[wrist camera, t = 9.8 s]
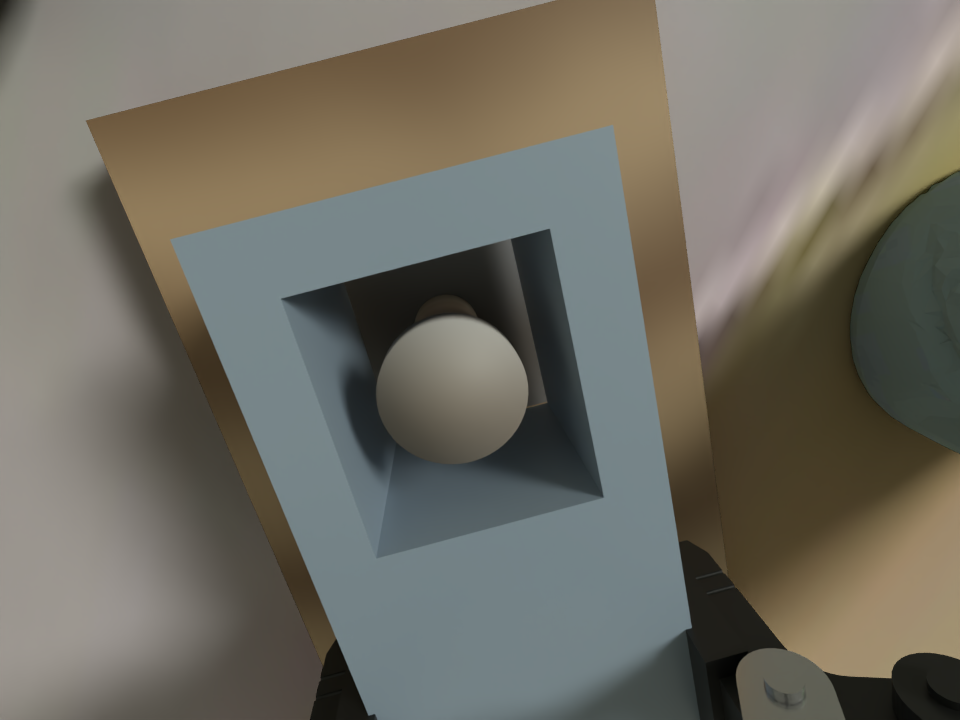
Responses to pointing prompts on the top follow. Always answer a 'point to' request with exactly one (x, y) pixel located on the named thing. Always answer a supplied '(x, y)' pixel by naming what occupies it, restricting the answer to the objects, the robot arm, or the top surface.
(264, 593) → the top surface
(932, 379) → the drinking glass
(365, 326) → the mount board
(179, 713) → the top surface
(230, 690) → the top surface
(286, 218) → the blue-grey block with holes
